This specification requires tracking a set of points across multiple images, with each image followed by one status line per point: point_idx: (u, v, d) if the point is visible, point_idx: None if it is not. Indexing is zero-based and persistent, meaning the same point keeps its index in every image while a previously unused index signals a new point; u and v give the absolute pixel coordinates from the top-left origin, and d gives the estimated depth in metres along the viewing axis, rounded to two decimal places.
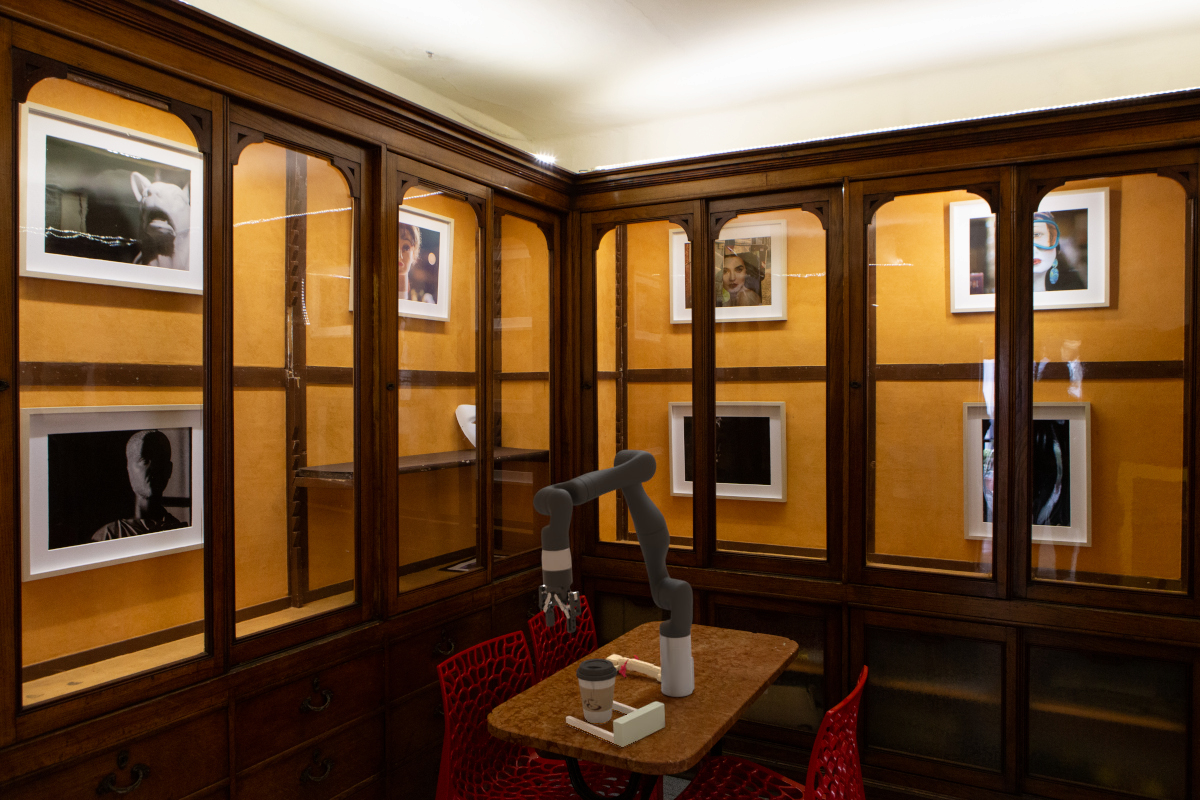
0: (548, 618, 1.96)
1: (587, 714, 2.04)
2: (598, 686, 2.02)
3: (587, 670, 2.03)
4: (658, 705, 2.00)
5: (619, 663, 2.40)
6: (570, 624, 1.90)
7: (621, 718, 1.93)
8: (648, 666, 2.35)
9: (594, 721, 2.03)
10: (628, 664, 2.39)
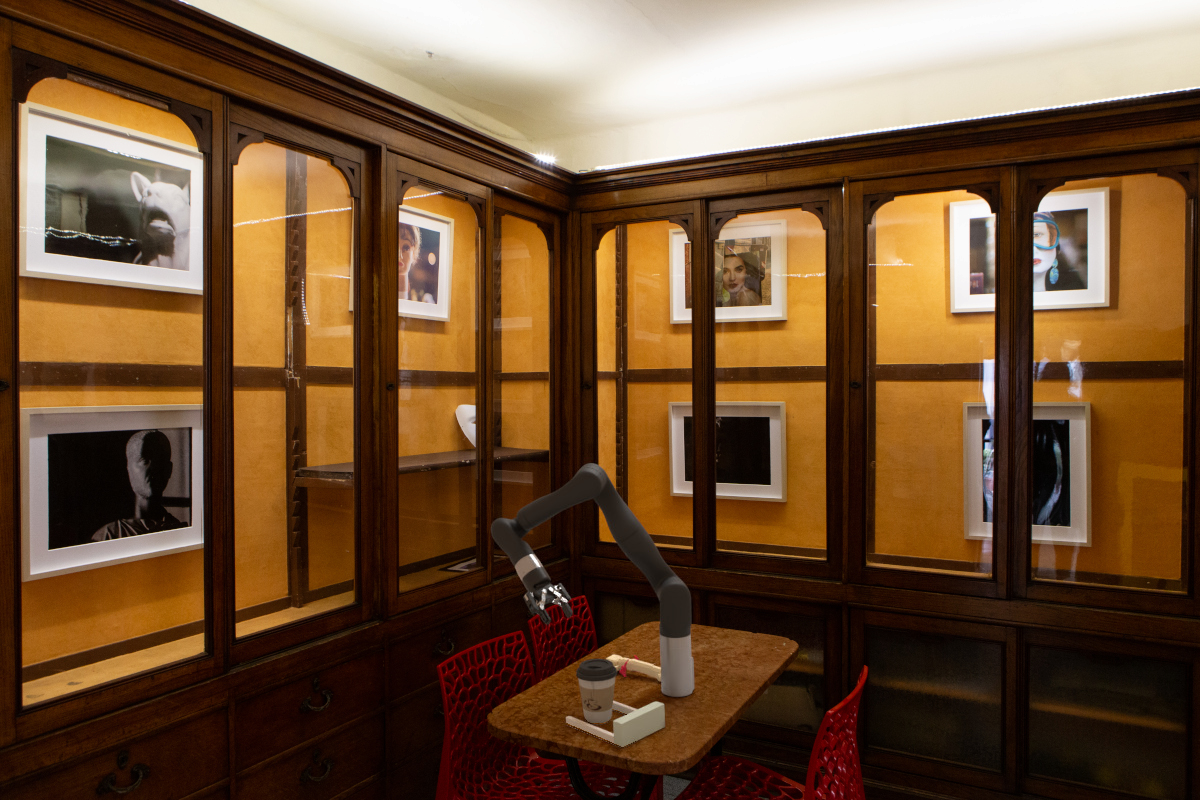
0: (564, 611, 2.21)
1: (587, 714, 2.04)
2: (598, 686, 2.02)
3: (587, 670, 2.03)
4: (658, 705, 2.00)
5: (619, 663, 2.40)
6: None
7: (621, 718, 1.93)
8: (648, 666, 2.35)
9: (594, 721, 2.03)
10: (628, 664, 2.39)
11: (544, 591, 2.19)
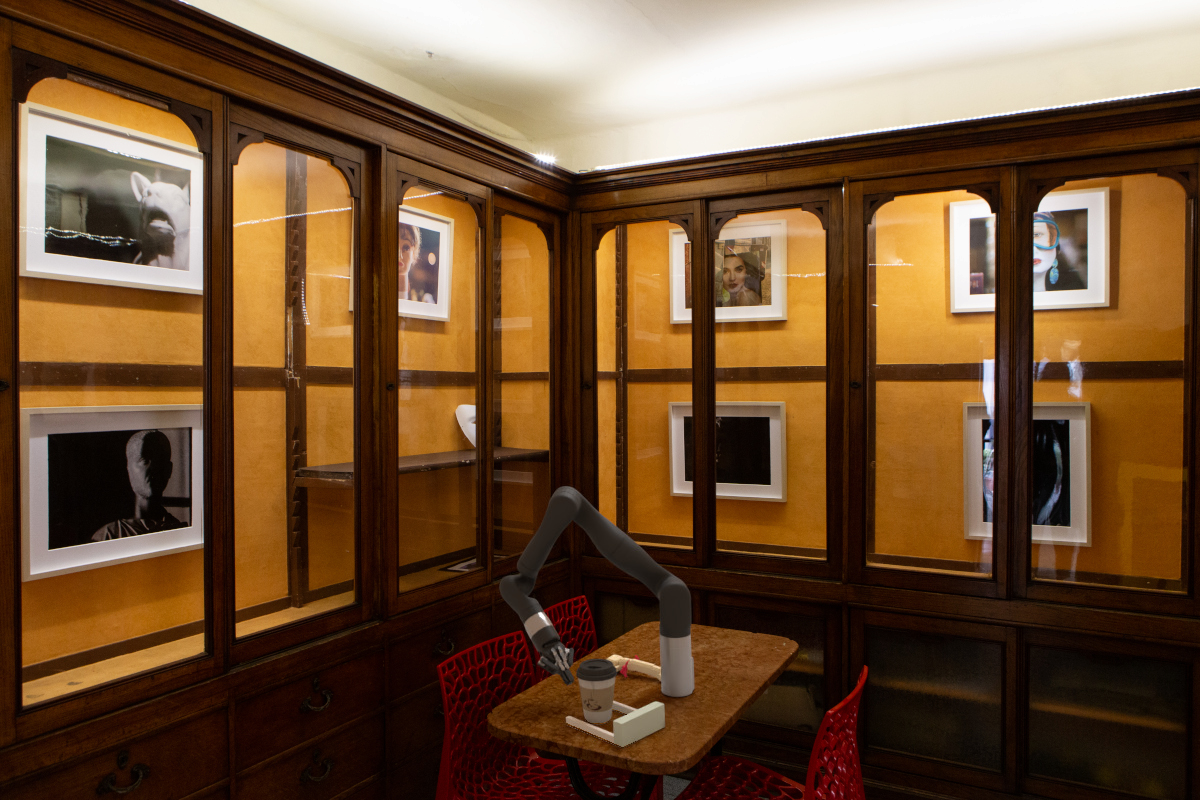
0: None
1: (587, 714, 2.04)
2: (598, 686, 2.02)
3: (587, 670, 2.03)
4: (658, 705, 2.00)
5: (620, 663, 2.40)
6: None
7: (621, 718, 1.93)
8: (649, 666, 2.35)
9: (594, 721, 2.03)
10: (629, 664, 2.38)
11: (553, 651, 2.18)
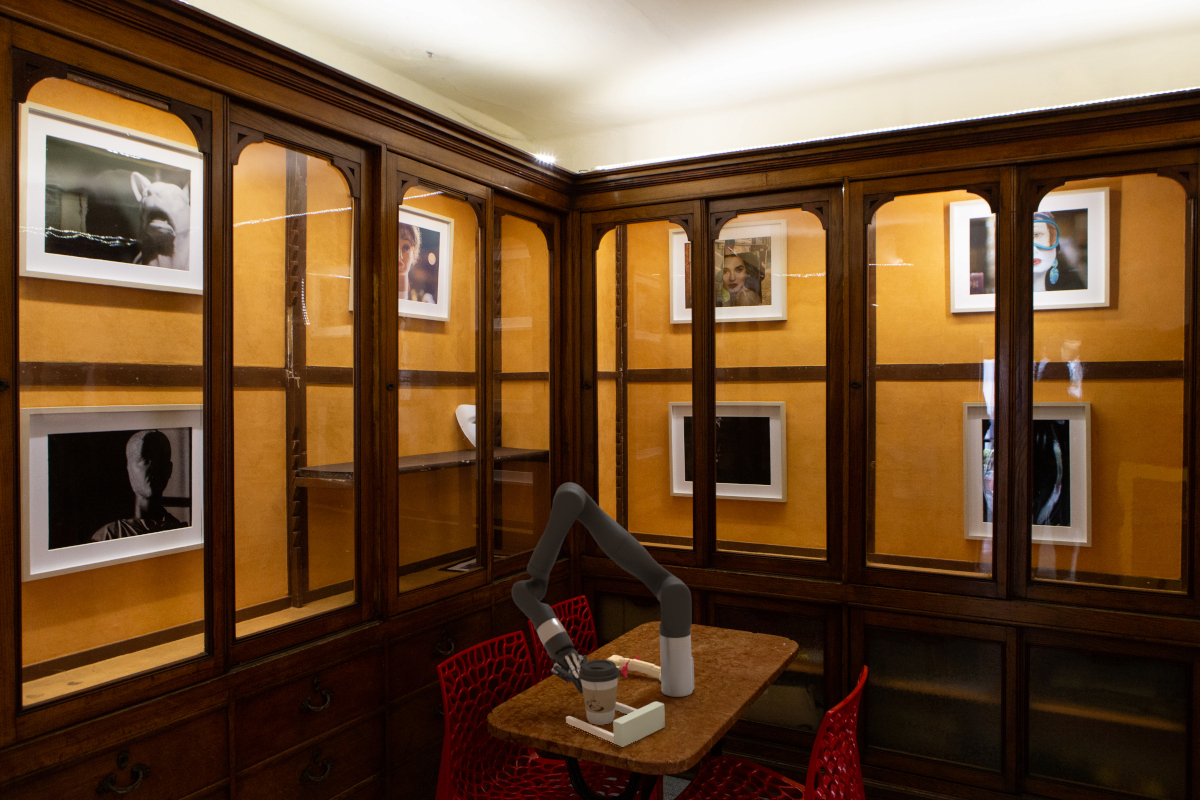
0: None
1: (590, 715, 2.03)
2: (600, 687, 2.01)
3: (589, 671, 2.02)
4: (658, 705, 2.00)
5: (620, 664, 2.40)
6: None
7: (621, 718, 1.93)
8: (650, 666, 2.35)
9: (596, 722, 2.03)
10: (629, 664, 2.38)
11: (567, 658, 2.14)
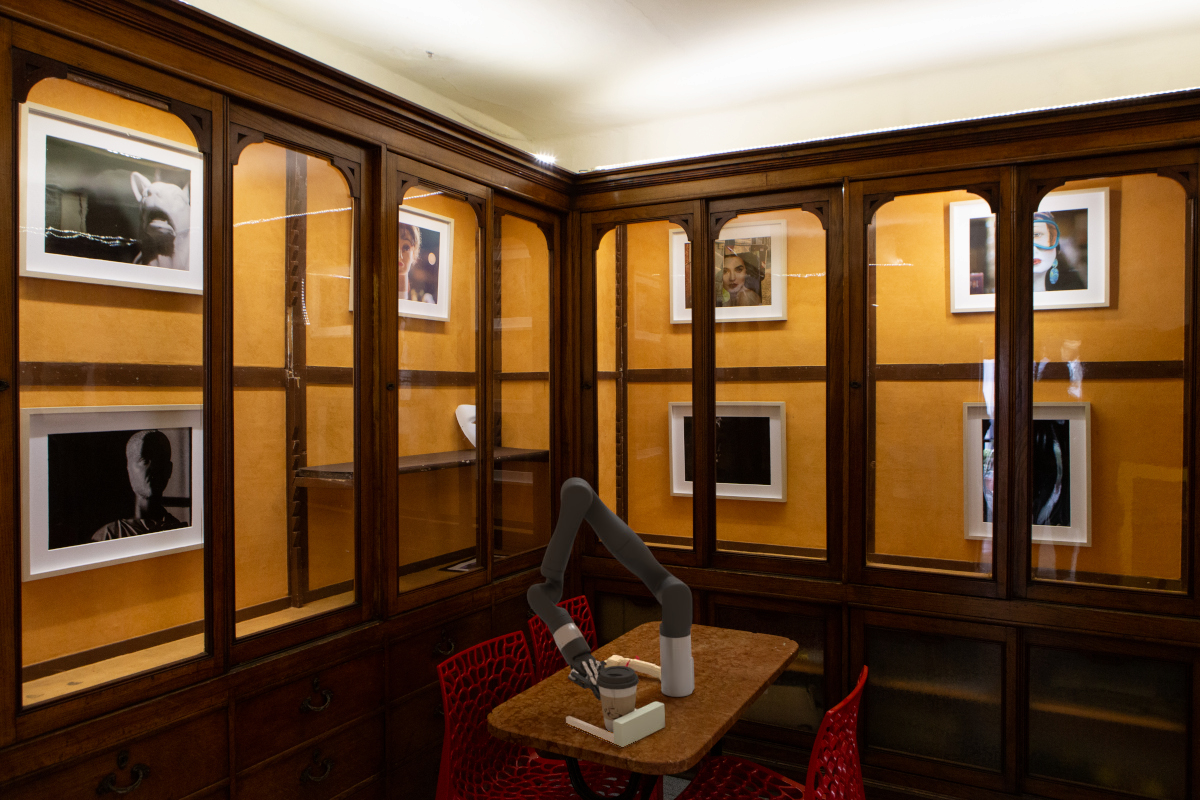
0: None
1: (608, 723, 1.98)
2: (619, 694, 1.96)
3: (608, 678, 1.97)
4: (658, 705, 2.00)
5: (621, 664, 2.40)
6: None
7: (621, 718, 1.93)
8: (650, 666, 2.35)
9: None
10: (630, 664, 2.38)
11: (584, 664, 2.08)
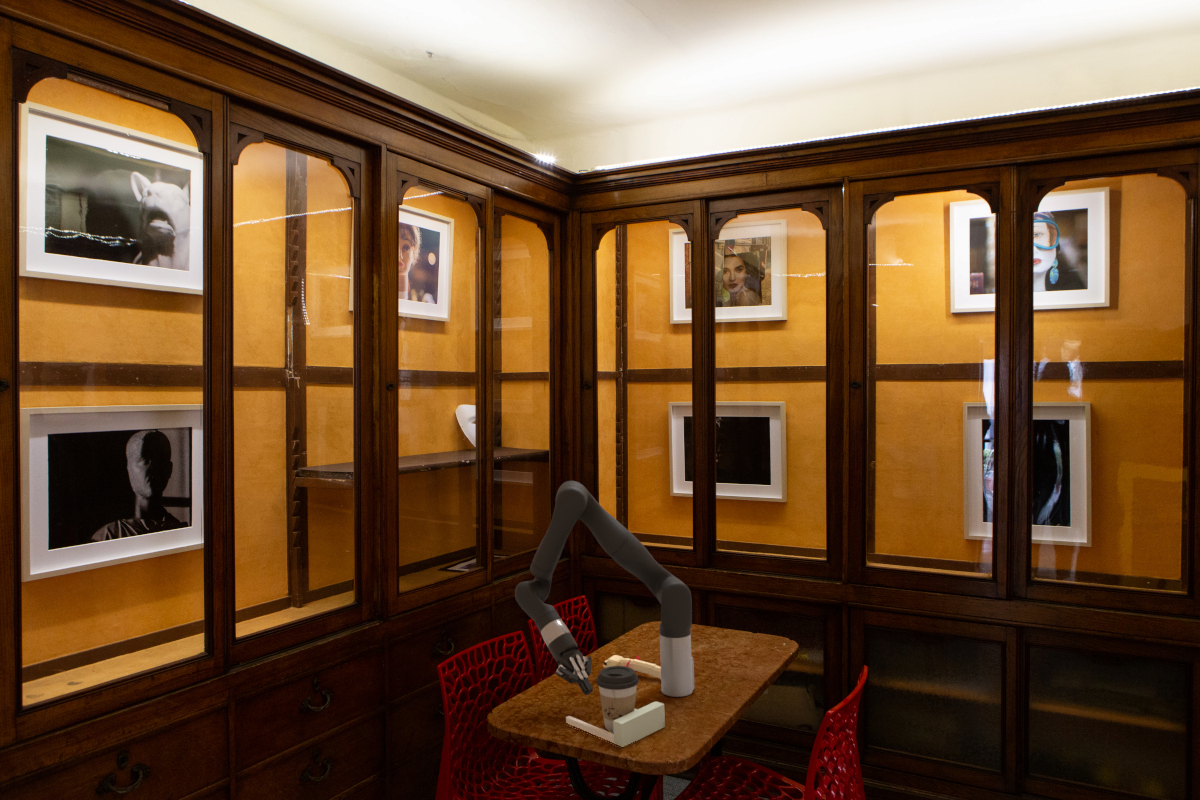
0: None
1: (608, 723, 1.98)
2: (619, 694, 1.96)
3: (608, 678, 1.97)
4: (658, 705, 2.00)
5: (621, 664, 2.40)
6: None
7: (621, 718, 1.93)
8: (651, 666, 2.35)
9: None
10: (630, 664, 2.38)
11: (572, 659, 2.12)
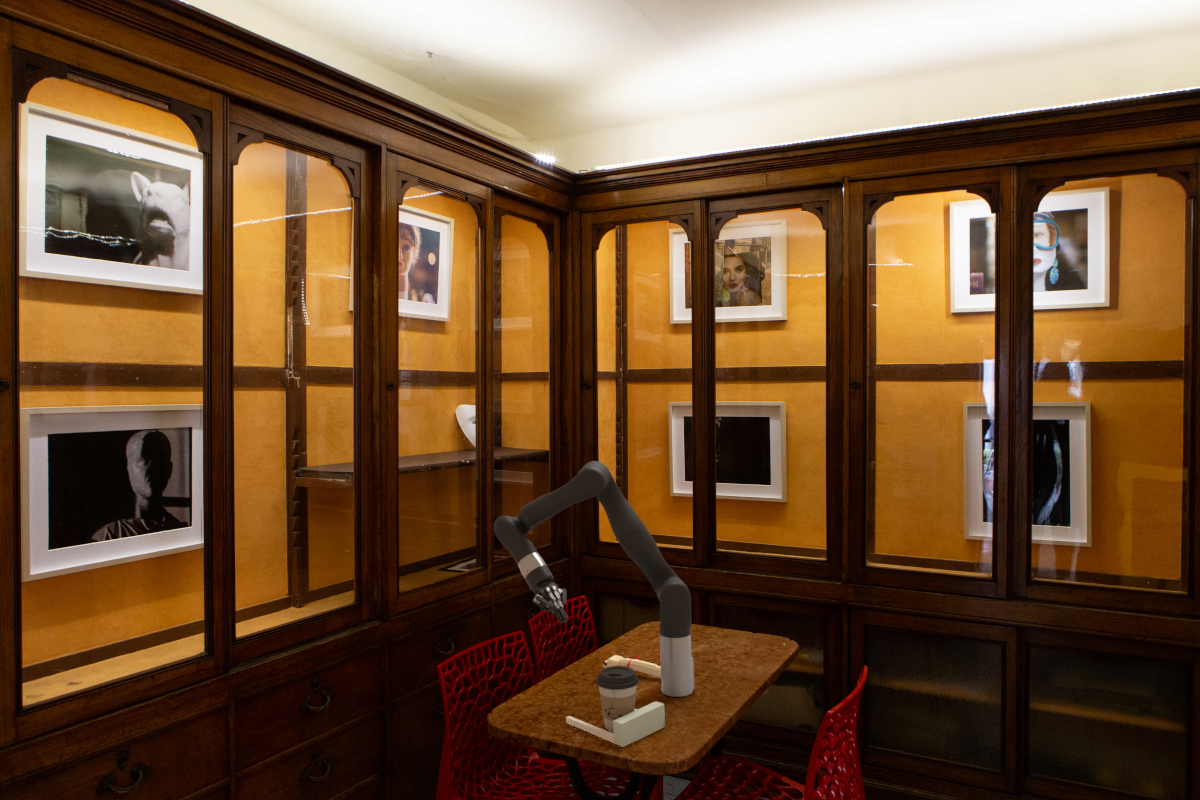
0: None
1: (608, 723, 1.98)
2: (619, 694, 1.96)
3: (608, 678, 1.97)
4: (658, 705, 2.00)
5: (621, 664, 2.40)
6: None
7: (621, 718, 1.93)
8: (651, 666, 2.35)
9: None
10: (631, 665, 2.38)
11: (548, 589, 2.19)
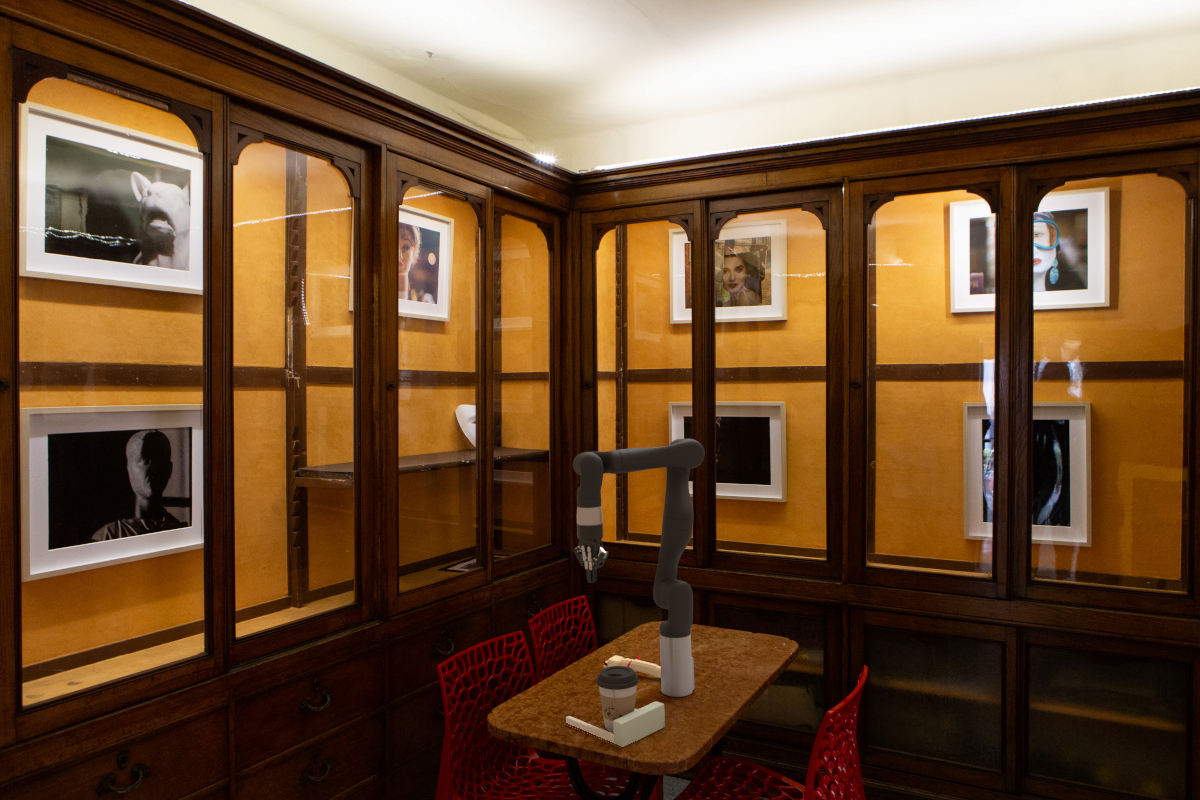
0: None
1: (608, 723, 1.98)
2: (619, 694, 1.96)
3: (608, 678, 1.97)
4: (658, 705, 2.00)
5: (622, 664, 2.40)
6: (592, 575, 2.16)
7: (621, 718, 1.93)
8: (652, 666, 2.35)
9: None
10: (631, 665, 2.38)
11: None
